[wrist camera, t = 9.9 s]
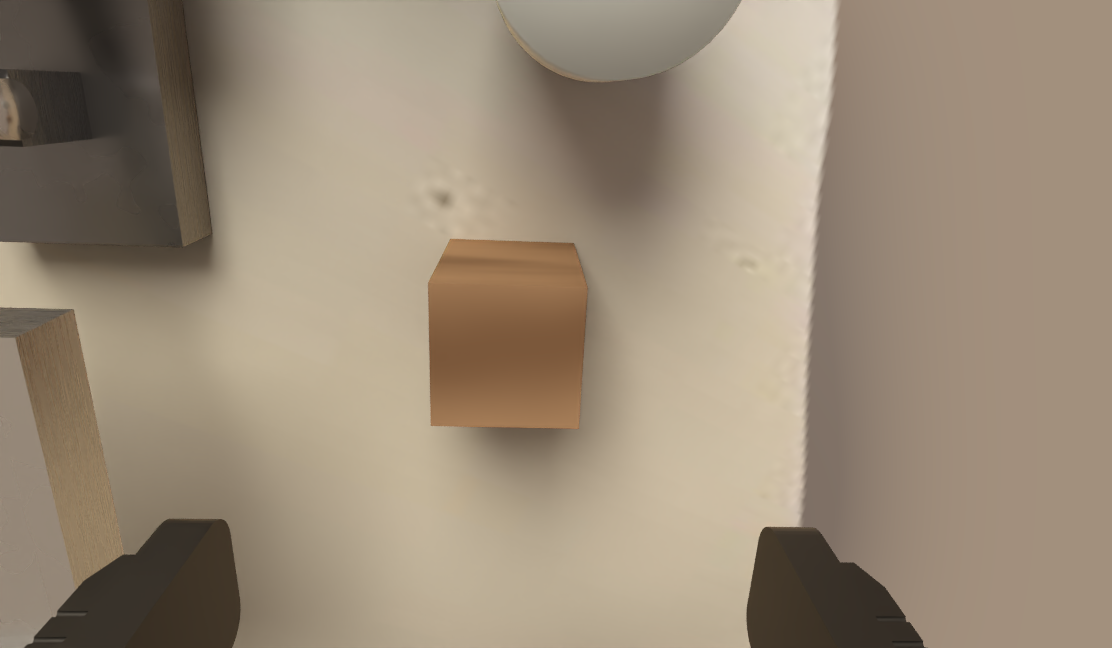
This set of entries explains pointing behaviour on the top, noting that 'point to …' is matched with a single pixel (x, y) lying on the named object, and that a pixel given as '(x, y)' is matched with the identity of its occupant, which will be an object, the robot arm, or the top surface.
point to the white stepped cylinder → (614, 34)
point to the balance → (79, 218)
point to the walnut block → (507, 335)
